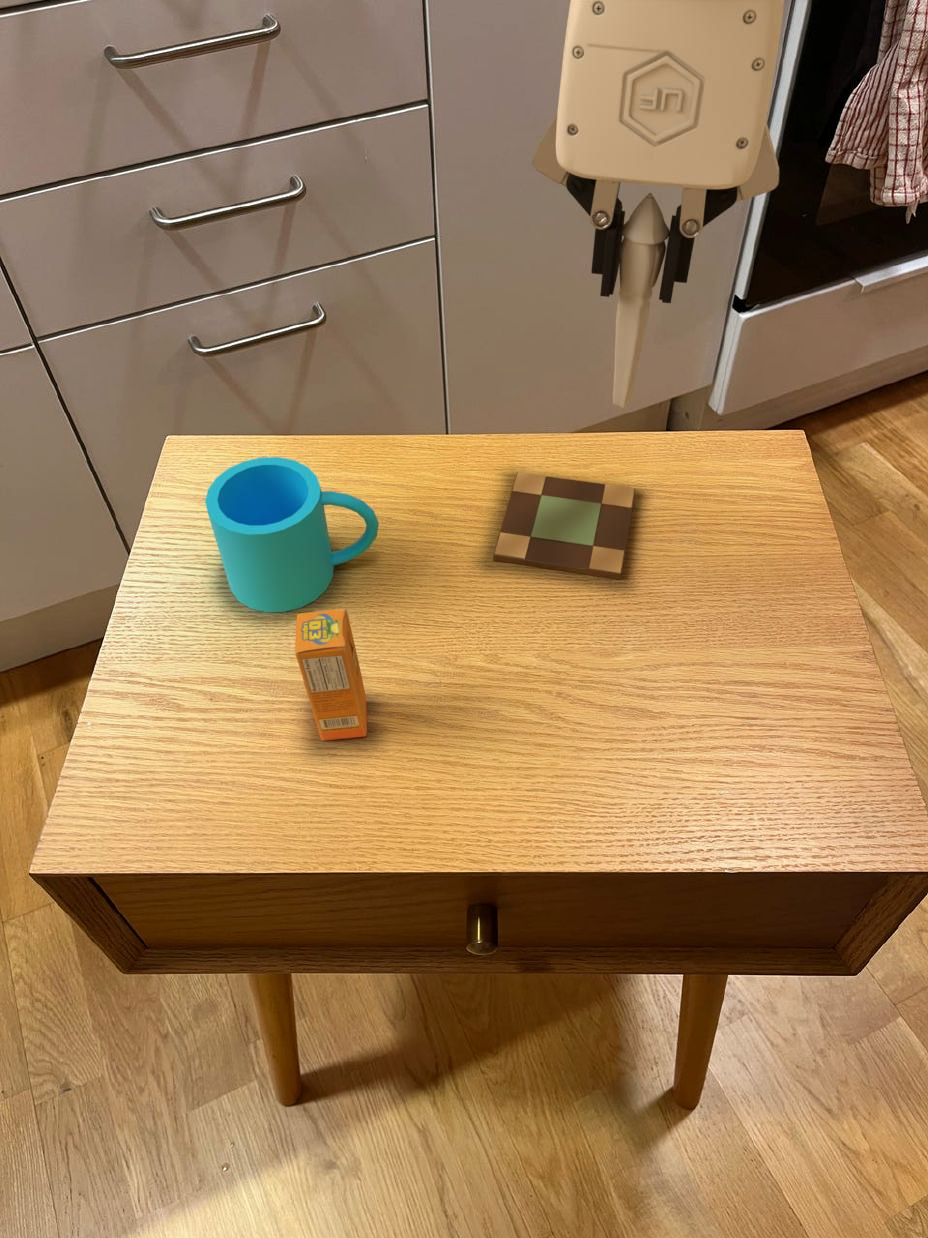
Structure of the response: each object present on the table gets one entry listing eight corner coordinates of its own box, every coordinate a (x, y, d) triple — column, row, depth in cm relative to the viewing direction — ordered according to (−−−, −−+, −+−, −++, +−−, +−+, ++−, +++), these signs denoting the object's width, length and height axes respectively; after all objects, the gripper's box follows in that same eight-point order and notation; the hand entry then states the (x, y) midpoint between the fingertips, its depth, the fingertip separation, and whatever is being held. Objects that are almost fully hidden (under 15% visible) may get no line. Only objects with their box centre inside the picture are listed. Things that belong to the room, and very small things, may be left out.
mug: (228, 619, 72) (204, 541, 65) (228, 542, 77) (205, 463, 71) (388, 598, 73) (379, 519, 66) (377, 524, 78) (368, 445, 72)
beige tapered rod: (612, 388, 64) (638, 177, 53) (649, 402, 63) (683, 189, 52) (594, 408, 62) (617, 196, 52) (631, 422, 61) (662, 209, 51)
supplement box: (316, 703, 66) (295, 608, 59) (366, 699, 67) (351, 604, 59) (316, 744, 64) (293, 650, 57) (367, 739, 64) (352, 646, 57)
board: (634, 493, 80) (636, 487, 79) (620, 580, 74) (621, 573, 73) (516, 476, 81) (516, 470, 81) (492, 560, 75) (492, 554, 75)
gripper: (490, -80, 41) (488, 307, 55) (888, -62, 38) (779, 339, 52) (521, -125, 46) (512, 242, 60) (878, -112, 43) (781, 268, 57)
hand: (638, 284), depth 56 cm, fingers closed on beige tapered rod, 2 cm apart
